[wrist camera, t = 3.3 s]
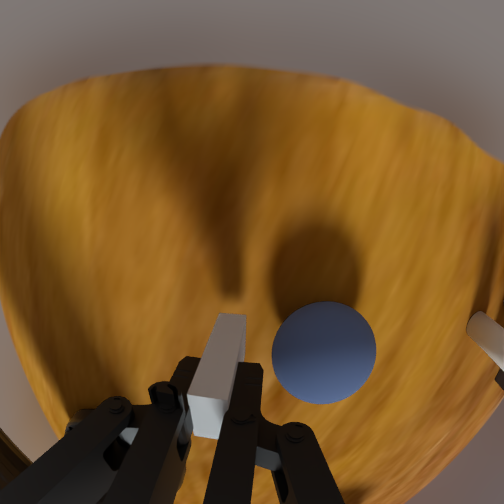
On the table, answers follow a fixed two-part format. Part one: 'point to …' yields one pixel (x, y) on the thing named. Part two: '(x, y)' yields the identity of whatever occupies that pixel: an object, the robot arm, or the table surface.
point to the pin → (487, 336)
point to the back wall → (500, 378)
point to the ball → (323, 352)
